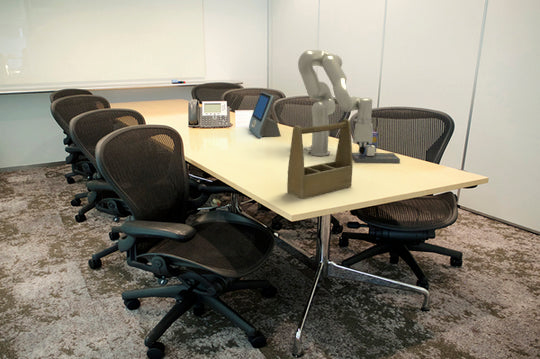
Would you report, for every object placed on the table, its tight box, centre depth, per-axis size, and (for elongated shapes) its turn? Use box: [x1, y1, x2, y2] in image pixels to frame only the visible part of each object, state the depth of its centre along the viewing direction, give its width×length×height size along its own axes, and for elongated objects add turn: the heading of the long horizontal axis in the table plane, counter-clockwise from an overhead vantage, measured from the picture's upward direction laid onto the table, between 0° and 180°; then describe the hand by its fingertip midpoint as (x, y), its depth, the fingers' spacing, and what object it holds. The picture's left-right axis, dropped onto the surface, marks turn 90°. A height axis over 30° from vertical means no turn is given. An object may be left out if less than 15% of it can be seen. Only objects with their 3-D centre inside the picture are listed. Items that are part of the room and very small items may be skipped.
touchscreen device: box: [248, 91, 282, 139], centre depth 303 cm, size 35×20×30 cm, turn 14°
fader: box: [366, 145, 376, 156], centre depth 232 cm, size 4×4×5 cm
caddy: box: [286, 118, 354, 200], centre depth 178 cm, size 29×11×30 cm, turn 126°
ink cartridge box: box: [362, 130, 379, 153], centre depth 251 cm, size 10×6×14 cm, turn 117°
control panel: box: [352, 152, 401, 164], centre depth 233 cm, size 24×14×3 cm, turn 89°
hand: (361, 153), depth 233 cm, fingers closed
